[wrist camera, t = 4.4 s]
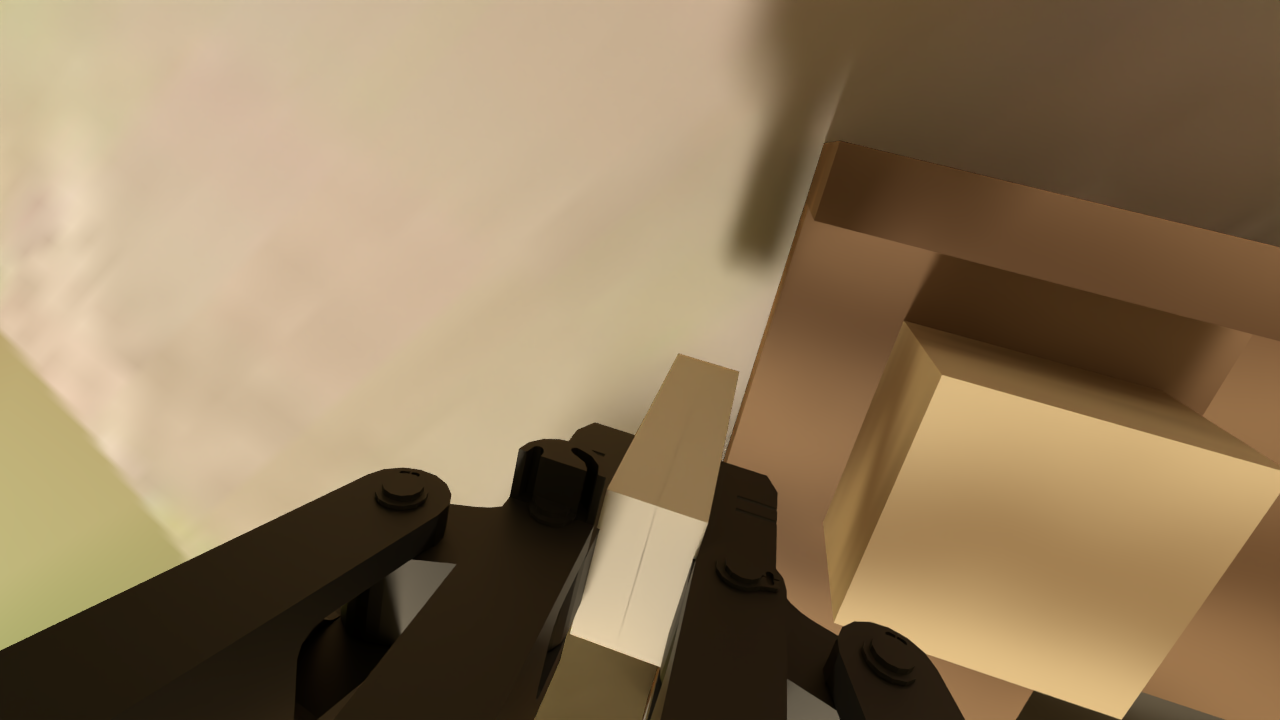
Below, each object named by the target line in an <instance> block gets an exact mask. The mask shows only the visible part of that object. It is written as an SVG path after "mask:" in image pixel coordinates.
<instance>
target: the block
mask: <svg viewBox="0 0 1280 720" xmlns="http://www.w3.org/2000/svg"><path fill="white" fill-rule="evenodd" d="M1279 494H1280V465H1278V464H1277V463H1275V462H1273V461H1272V460H1270V459H1269V458H1267V457H1266V456H1264V455H1262V454H1261V453H1259V452H1258V451H1256V450H1255V449H1253V448H1251V447H1250V446H1248V445H1247V444H1245V443H1244V442H1242V441H1240V440H1239V439H1237V438H1236V437H1234V436H1233V435H1231V434H1229V433H1228V432H1226V431H1225V430H1223V429H1222V428H1220V427H1218V426H1217V425H1215V424H1214V423H1212V422H1211V421H1209V420H1207V419H1206V418H1204V417H1203V416H1201V415H1200V414H1198V413H1196V412H1195V411H1193V410H1192V409H1190V408H1189V407H1187V406H1185V405H1184V404H1182V403H1181V402H1179V401H1178V400H1176V399H1174V398H1173V397H1171V396H1170V395H1168V394H1167V393H1165V392H1163V391H1159V390H1156V389H1152V388H1148V387H1145V386H1141V385H1137V384H1134V383H1130V382H1126V381H1123V380H1119V379H1116V378H1112V377H1108V376H1105V375H1101V374H1097V373H1094V372H1090V371H1086V370H1083V369H1079V368H1075V367H1072V366H1068V365H1064V364H1061V363H1057V362H1053V361H1050V360H1046V359H1043V358H1039V357H1035V356H1032V355H1028V354H1024V353H1021V352H1017V351H1013V350H1010V349H1006V348H1002V347H999V346H995V345H991V344H988V343H984V342H981V341H977V340H973V339H970V338H966V337H962V336H959V335H955V334H951V333H948V332H944V331H940V330H937V329H933V328H929V327H926V326H922V325H918V324H915V323H911V322H908V321H903V324H902V326H901V329H900V331H899V334H898V336H897V339H896V341H895V344H894V346H893V349H892V351H891V354H890V356H889V359H888V361H887V364H886V366H885V369H884V371H883V374H882V376H881V379H880V381H879V384H878V386H877V389H876V391H875V394H874V396H873V399H872V401H871V404H870V406H869V409H868V411H867V414H866V416H865V419H864V421H863V424H862V426H861V429H860V431H859V434H858V436H857V439H856V441H855V444H854V446H853V449H852V451H851V454H850V456H849V459H848V461H847V464H846V466H845V469H844V471H843V474H842V476H841V479H840V481H839V484H838V486H837V489H836V491H835V494H834V496H833V499H832V501H831V504H830V506H829V509H828V511H827V514H826V516H825V519H824V521H823V526H824V535H825V545H826V554H827V564H828V573H829V583H830V592H831V602H832V611H833V621H834V623H836V624H839V625H842V626H845V625H847V624H849V623H852V622H854V621H860V622H873V623H876V624H879V625H882V626H885V627H889V628H891V629H892V630H894V631H896V632H898V633H900V634H901V635H903V636H905V637H906V638H908V639H909V640H910V641H912V642H913V643H914V644H915V645H916V646H917V647H919V648H920V649H921V650H922V651H923V652H924V653H925V654H928V655H931V656H934V657H937V658H940V659H943V660H946V661H949V662H952V663H954V664H957V665H960V666H963V667H966V668H969V669H972V670H975V671H978V672H981V673H984V674H987V675H990V676H993V677H996V678H999V679H1002V680H1005V681H1008V682H1011V683H1014V684H1017V685H1020V686H1023V687H1026V688H1029V689H1032V690H1035V691H1038V692H1041V693H1043V694H1046V695H1049V696H1052V697H1055V698H1058V699H1061V700H1064V701H1067V702H1070V703H1073V704H1076V705H1079V706H1082V707H1085V708H1088V709H1091V710H1094V711H1097V712H1100V713H1103V714H1106V715H1109V716H1112V717H1115V718H1118V719H1121V720H1122V718H1123V717H1124V716H1125V714H1126V713H1127V711H1128V710H1129V708H1130V707H1131V706H1132V704H1133V703H1134V701H1135V700H1136V698H1137V697H1138V696H1139V694H1140V693H1141V691H1142V690H1143V688H1144V687H1145V686H1146V684H1147V683H1148V681H1149V680H1150V678H1151V677H1152V676H1153V674H1154V673H1155V671H1156V670H1157V668H1158V667H1159V666H1160V664H1161V663H1162V661H1163V660H1164V658H1165V657H1166V656H1167V654H1168V653H1169V651H1170V650H1171V648H1172V647H1173V646H1174V644H1175V643H1176V641H1177V640H1178V638H1179V637H1180V636H1181V634H1182V633H1183V631H1184V630H1185V628H1186V627H1187V626H1188V624H1189V623H1190V621H1191V620H1192V618H1193V617H1194V616H1195V614H1196V613H1197V611H1198V610H1199V608H1200V607H1201V605H1202V604H1203V603H1204V601H1205V600H1206V598H1207V597H1208V595H1209V594H1210V593H1211V591H1212V590H1213V588H1214V587H1215V585H1216V584H1217V583H1218V581H1219V580H1220V578H1221V577H1222V575H1223V574H1224V573H1225V571H1226V570H1227V568H1228V567H1229V565H1230V564H1231V563H1232V561H1233V560H1234V558H1235V557H1236V555H1237V554H1238V553H1239V551H1240V550H1241V548H1242V547H1243V545H1244V544H1245V543H1246V541H1247V540H1248V538H1249V537H1250V535H1251V534H1252V533H1253V531H1254V530H1255V528H1256V527H1257V525H1258V524H1259V523H1260V521H1261V520H1262V518H1263V517H1264V515H1265V514H1266V513H1267V511H1268V510H1269V508H1270V507H1271V505H1272V504H1273V503H1274V501H1275V500H1276V498H1277V497H1278V495H1279Z"/></svg>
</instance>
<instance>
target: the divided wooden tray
mask: <svg viewBox="0 0 1280 720" xmlns="http://www.w3.org/2000/svg"><path fill="white" fill-rule="evenodd" d="M903 321H908V322H911V323H915V324H918V325H922V326H926V327H929V328H933V329H937V330H940V331H944V332H948V333H951V334H955V335H959V336H962V337H966V338H970V339H973V340H977V341H981V342H984V343H988V344H991V345H995V346H999V347H1002V348H1006V349H1010V350H1013V351H1017V352H1021V353H1024V354H1028V355H1032V356H1035V357H1039V358H1043V359H1046V360H1050V361H1053V362H1057V363H1061V364H1064V365H1068V366H1072V367H1075V368H1079V369H1083V370H1086V371H1090V372H1094V373H1097V374H1101V375H1105V376H1108V377H1112V378H1116V379H1119V380H1123V381H1126V382H1130V383H1134V384H1137V385H1141V386H1145V387H1148V388H1152V389H1156V390H1159V391H1163V392H1165V393H1167V394H1168V395H1170V396H1171V397H1173V398H1174V399H1176V400H1178V401H1179V402H1181V403H1182V404H1184V405H1185V406H1187V407H1189V408H1190V409H1192V410H1193V411H1195V412H1196V413H1198V414H1200V415H1201V416H1203V417H1204V418H1206V419H1207V420H1209V421H1211V422H1212V423H1214V424H1215V425H1217V426H1218V427H1220V428H1222V429H1223V430H1225V431H1226V432H1228V433H1229V434H1231V435H1233V436H1234V437H1236V438H1237V439H1239V440H1240V441H1242V442H1244V443H1245V444H1247V445H1248V446H1250V447H1251V448H1253V449H1255V450H1256V451H1258V452H1259V453H1261V454H1262V455H1264V456H1266V457H1267V458H1269V459H1270V460H1272V461H1273V462H1275V463H1277V464H1278V465H1280V247H1277V246H1273V245H1269V244H1265V243H1260V242H1256V241H1252V240H1248V239H1244V238H1240V237H1236V236H1232V235H1227V234H1223V233H1219V232H1215V231H1211V230H1207V229H1203V228H1199V227H1194V226H1190V225H1186V224H1182V223H1178V222H1174V221H1170V220H1166V219H1161V218H1157V217H1153V216H1149V215H1145V214H1141V213H1137V212H1132V211H1128V210H1124V209H1120V208H1116V207H1112V206H1108V205H1104V204H1099V203H1095V202H1091V201H1087V200H1083V199H1079V198H1075V197H1071V196H1066V195H1062V194H1058V193H1054V192H1050V191H1046V190H1042V189H1037V188H1033V187H1029V186H1025V185H1021V184H1017V183H1013V182H1009V181H1004V180H1000V179H996V178H992V177H988V176H984V175H980V174H976V173H971V172H967V171H963V170H959V169H955V168H951V167H947V166H943V165H938V164H934V163H930V162H926V161H922V160H918V159H914V158H909V157H905V156H901V155H897V154H893V153H889V152H885V151H881V150H876V149H872V148H868V147H864V146H860V145H856V144H852V143H848V142H843V141H835V142H829V143H824V145H823V148H822V152H821V155H820V158H819V161H818V164H817V167H816V170H815V174H814V177H813V180H812V183H811V186H810V189H809V192H808V196H807V199H806V202H805V205H804V208H803V211H802V215H801V218H800V221H799V224H798V227H797V230H796V233H795V237H794V240H793V243H792V246H791V249H790V252H789V255H788V259H787V262H786V265H785V268H784V271H783V274H782V277H781V281H780V284H779V287H778V290H777V293H776V296H775V299H774V303H773V306H772V309H771V312H770V315H769V318H768V321H767V325H766V328H765V331H764V334H763V337H762V340H761V344H760V347H759V350H758V353H757V356H756V359H755V362H754V366H753V369H752V372H751V375H750V378H749V381H748V384H747V388H746V391H745V394H744V397H743V400H742V403H741V406H740V410H739V413H738V416H737V419H736V422H735V425H734V428H733V432H732V435H731V438H730V441H729V444H728V447H727V451H726V454H725V457H724V460H723V462H726V463H729V464H732V465H735V466H738V467H742V468H745V469H748V470H751V471H754V472H757V473H760V474H763V475H767V476H768V478H769V479H770V481H771V483H772V484H773V486H774V487H775V489H776V491H777V492H778V498H777V523H776V524H777V550H776V569H777V571H778V572H779V573H780V574H781V576H782V577H783V579H784V582H785V586H786V589H787V599H788V600H789V601H790V603H791V604H792V605H794V606H795V607H796V608H797V609H798V610H799V611H800V612H801V613H803V614H804V615H805V616H807V617H808V618H810V619H811V620H813V621H814V622H816V623H818V624H819V625H821V626H823V627H824V628H826V629H828V630H829V631H831V632H833V633H834V634H836V635H839V633H840V631H841V629H842V627H843V626H842V625H839V624H836V623H834V621H833V611H832V602H831V592H830V583H829V573H828V564H827V554H826V545H825V535H824V526H823V521H824V519H825V516H826V514H827V511H828V509H829V506H830V504H831V501H832V499H833V496H834V494H835V491H836V489H837V486H838V484H839V481H840V479H841V476H842V474H843V471H844V469H845V466H846V464H847V461H848V459H849V456H850V454H851V451H852V449H853V446H854V444H855V441H856V439H857V436H858V434H859V431H860V429H861V426H862V424H863V421H864V419H865V416H866V414H867V411H868V409H869V406H870V404H871V401H872V399H873V396H874V394H875V391H876V389H877V386H878V384H879V381H880V379H881V376H882V374H883V371H884V369H885V366H886V364H887V361H888V359H889V356H890V354H891V351H892V349H893V346H894V344H895V341H896V339H897V336H898V334H899V331H900V329H901V326H902V324H903ZM926 655H927V656H928V658H929V659H930V660H931V662H932V663H933V664H934V666H935V667H936V668H937V670H938V672H939V673H940V675H941V677H942V679H943V681H944V682H945V684H946V686H947V688H948V690H949V691H950V693H951V695H952V697H953V699H954V700H955V702H956V704H957V706H958V708H959V709H960V711H961V713H962V715H963V717H964V718H965V720H1121V719H1118V718H1115V717H1112V716H1109V715H1106V714H1103V713H1100V712H1097V711H1094V710H1091V709H1088V708H1085V707H1082V706H1079V705H1076V704H1073V703H1070V702H1067V701H1064V700H1061V699H1058V698H1055V697H1052V696H1049V695H1046V694H1043V693H1041V692H1038V691H1035V690H1032V689H1029V688H1026V687H1023V686H1020V685H1017V684H1014V683H1011V682H1008V681H1005V680H1002V679H999V678H996V677H993V676H990V675H987V674H984V673H981V672H978V671H975V670H972V669H969V668H966V667H963V666H960V665H957V664H954V663H952V662H949V661H946V660H943V659H940V658H937V657H934V656H931V655H928V654H926ZM659 670H660V667H659V666H658V668H657V671H656V674H655V677H654V680H653V683H652V686H651V690H650V693H649V696H648V699H647V703H646V707H645V711H644V715H643V719H644V716H645V713H646V710H647V707H648V703H649V700H650V697H651V694H652V691H653V688H654V685H655V682H656V679H657V676H658V673H659ZM643 719H642V720H643ZM1122 720H1280V494H1279V495H1278V497H1277V498H1276V500H1275V501H1274V503H1273V504H1272V505H1271V507H1270V508H1269V510H1268V511H1267V513H1266V514H1265V515H1264V517H1263V518H1262V520H1261V521H1260V523H1259V524H1258V525H1257V527H1256V528H1255V530H1254V531H1253V533H1252V534H1251V535H1250V537H1249V538H1248V540H1247V541H1246V543H1245V544H1244V545H1243V547H1242V548H1241V550H1240V551H1239V553H1238V554H1237V555H1236V557H1235V558H1234V560H1233V561H1232V563H1231V564H1230V565H1229V567H1228V568H1227V570H1226V571H1225V573H1224V574H1223V575H1222V577H1221V578H1220V580H1219V581H1218V583H1217V584H1216V585H1215V587H1214V588H1213V590H1212V591H1211V593H1210V594H1209V595H1208V597H1207V598H1206V600H1205V601H1204V603H1203V604H1202V605H1201V607H1200V608H1199V610H1198V611H1197V613H1196V614H1195V616H1194V617H1193V618H1192V620H1191V621H1190V623H1189V624H1188V626H1187V627H1186V628H1185V630H1184V631H1183V633H1182V634H1181V636H1180V637H1179V638H1178V640H1177V641H1176V643H1175V644H1174V646H1173V647H1172V648H1171V650H1170V651H1169V653H1168V654H1167V656H1166V657H1165V658H1164V660H1163V661H1162V663H1161V664H1160V666H1159V667H1158V668H1157V670H1156V671H1155V673H1154V674H1153V676H1152V677H1151V678H1150V680H1149V681H1148V683H1147V684H1146V686H1145V687H1144V688H1143V690H1142V691H1141V693H1140V694H1139V696H1138V697H1137V698H1136V700H1135V701H1134V703H1133V704H1132V706H1131V707H1130V708H1129V710H1128V711H1127V713H1126V714H1125V716H1124V717H1123V718H1122Z"/></svg>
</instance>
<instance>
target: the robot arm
mask: <svg viewBox="0 0 1280 720" xmlns="http://www.w3.org/2000/svg"><path fill="white" fill-rule="evenodd" d="M738 375H739V372H738V371H735V370H732V369H728V368H725V367H722V366H719V365H715V364H712V363H709V362H705V361H702V360H699V359H695V358H692V357H689V356H685V355H682V354H678V355H677V357H676V359H675V361H674V363H673V365H672V367H671V369H670V371H669V373H668V374H667V376H666V378H665V380H664V382H663V384H662V386H661V388H660V390H659V391H658V393H657V395H656V397H655V399H654V401H653V403H652V405H651V407H650V409H649V410H648V412H647V414H646V416H645V418H644V420H643V422H642V424H641V426H640V427H639V429H638V431H637V433H636V435H632V434H629V433H626V432H623V431H620V430H617V429H614V428H611V427H607V426H604V425H601V424H598V423H593V424H590V425H588V426H585V427H583V428H581V429H578V430H577V431H576V432H575V434H574V435H573V436H572V438H571V439H570V440H569V441H564V440H560V439H542V440H537V441H533V442H529V443H527V444H526V445H524V446H523V447H521V448H520V449H519V452H518V457H517V462H516V468H515V473H514V478H513V483H512V488H511V494H510V497H509V499H508V500H507V501H506V502H505V504H504V505H503V506H502V507H492V508H485V507H471V506H463V505H455V504H450V500H451V493H450V490H449V488H448V486H447V484H446V483H445V482H443V481H442V480H441V479H440V478H438V477H437V476H436V475H433V474H430V473H427V472H425V471H422V470H417V469H411V468H393V469H383V470H380V471H377V472H374V473H371V474H368V475H366V476H364V477H362V478H360V479H357V480H355V481H353V482H351V483H349V484H347V485H345V486H343V487H341V488H339V489H337V490H335V491H332V492H330V493H328V494H326V495H324V496H322V497H320V498H318V499H316V500H314V501H312V502H309V503H307V504H305V505H303V506H301V507H299V508H297V509H295V510H293V511H291V512H289V513H287V514H284V515H282V516H280V517H278V518H276V519H274V520H272V521H270V522H268V523H266V524H264V525H261V526H259V527H257V528H255V529H253V530H251V531H249V532H247V533H245V534H243V535H241V536H239V537H236V538H234V539H232V540H230V541H228V542H226V543H224V544H222V545H220V546H218V547H216V548H214V549H211V550H209V551H207V552H205V553H203V554H201V555H199V556H197V557H195V558H193V559H191V560H188V561H186V562H184V563H182V564H180V565H178V566H176V567H174V568H172V569H170V570H168V571H166V572H164V573H161V574H159V575H157V576H155V577H153V578H151V579H149V580H147V581H145V582H143V583H140V584H138V585H137V586H134V587H132V588H130V589H128V590H126V591H124V592H122V593H120V594H118V595H115V596H113V597H111V598H110V599H107V600H105V601H103V602H101V603H99V604H97V605H95V606H93V607H90V608H88V609H86V610H84V611H82V612H80V613H78V614H76V615H74V616H72V617H70V618H68V619H65V620H63V621H61V622H59V623H57V624H55V625H53V626H51V627H49V628H47V629H45V630H42V631H40V632H38V633H36V634H34V635H32V636H30V637H28V638H26V639H24V640H22V641H20V642H17V643H16V644H13V645H11V646H9V647H7V648H5V649H3V650H1V651H0V720H534V718H535V716H536V714H537V712H538V709H539V707H540V705H541V702H542V700H543V698H544V696H545V693H546V691H547V689H548V687H549V684H550V682H551V680H552V677H553V675H554V673H555V671H556V668H557V666H558V664H559V661H560V658H561V654H562V650H563V646H564V642H565V639H566V635H567V633H568V630H569V628H570V626H571V624H572V622H573V624H572V628H571V632H570V634H571V635H574V636H577V637H579V638H582V639H585V640H588V641H590V642H593V643H596V644H599V645H601V646H604V647H607V648H609V649H612V650H615V651H618V652H620V653H623V654H626V655H629V656H631V657H634V658H637V659H639V660H642V661H645V662H648V663H650V664H653V665H656V666H659V667H660V670H659V673H658V676H657V679H656V682H655V685H654V688H653V691H652V694H651V697H650V700H649V703H648V707H647V710H646V713H645V716H644V719H643V720H965V718H964V717H963V715H962V713H961V711H960V709H959V708H958V706H957V704H956V702H955V700H954V699H953V697H952V695H951V693H950V691H949V690H948V688H947V686H946V684H945V682H944V681H943V679H942V677H941V675H940V673H939V672H938V670H937V668H936V667H935V666H934V664H933V663H932V662H931V660H930V659H929V658H928V656H927V655H926V654H925V653H924V652H923V651H922V650H921V649H920V648H919V647H917V646H916V645H915V644H914V643H913V642H912V641H910V640H909V639H908V638H906V637H905V636H903V635H901V634H900V633H898V632H896V631H894V630H892V629H891V628H889V627H885V626H882V625H879V624H876V623H873V622H860V621H854V622H852V623H849V624H847V625H845V626H843V627H842V629H841V631H840V633H839V635H836V634H834V633H833V632H831V631H829V630H828V629H826V628H824V627H823V626H821V625H819V624H818V623H816V622H814V621H813V620H811V619H810V618H808V617H807V616H805V615H804V614H803V613H801V612H800V611H799V610H798V609H797V608H796V607H795V606H794V605H792V604H791V603H790V601H789V600H788V599H787V589H786V586H785V582H784V579H783V577H782V576H781V574H780V573H779V572H778V571H777V569H776V550H777V524H776V523H777V498H778V492H777V491H776V489H775V487H774V486H773V484H772V483H771V481H770V479H769V478H768V476H767V475H763V474H760V473H757V472H754V471H751V470H748V469H745V468H742V467H738V466H735V465H732V464H729V463H726V462H723V461H721V458H722V453H723V448H724V443H725V438H726V434H727V429H728V424H729V419H730V414H731V409H732V404H733V400H734V395H735V390H736V385H737V380H738ZM573 619H574V620H573Z"/></svg>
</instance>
